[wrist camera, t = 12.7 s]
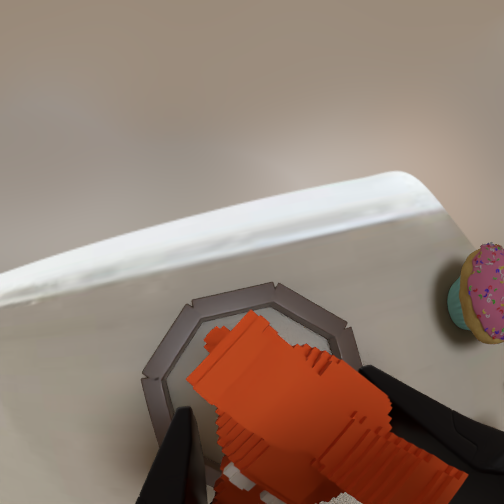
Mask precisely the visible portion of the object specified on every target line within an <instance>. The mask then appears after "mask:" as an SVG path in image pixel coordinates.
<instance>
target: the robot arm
mask: <svg viewBox="0 0 504 504" xmlns="http://www.w3.org/2000/svg"><path fill="white" fill-rule="evenodd" d="M358 373H360V374H361V375H362V376H363V377H365V378H366V379H367V380H368V381H370V382H371V383H372V384H373V385H375V386H376V387H377V388H378V389H380V390H381V391H382V392H384V393H385V394H386V395H387V396H388V397H387V398H388V399H390V401H389V402H391V403H392V404H391V405H390V406H391V407H392V409H391V411H390V412H389V413H388V416H390V417H391V418H392V419H391V420H390V422H389V424H390V425H391V427H392V429H391V430H390V431H389V432H392V433H394V434H395V435H396V436H398V437H400V438H403V439H404V440H406V441H407V442H409V443H412V444H414V445H415V446H417V447H418V448H420V449H423V450H425V451H426V452H428V453H430V454H433V455H435V456H436V457H438V458H439V459H440V460H442V461H443V462H445V463H446V464H448V465H450V466H453V467H455V468H456V469H458V470H460V471H463V472H465V473H467V474H468V477H467V478H466V480H465V481H464V483H463V484H462V485H461V487H460V488H459V490H458V491H457V492H456V494H455V495H454V496H453V498H452V499H451V500H450V502H449V503H448V504H504V432H503V431H501V430H498V429H495V428H492V427H490V426H487V425H484V424H482V423H479V422H477V421H474V420H472V419H470V418H468V417H466V416H464V415H462V414H460V413H458V412H456V411H454V410H452V409H450V408H448V407H446V406H445V405H443V404H441V403H439V402H437V401H435V400H433V399H432V398H430V397H428V396H426V395H424V394H422V393H421V392H419V391H417V390H415V389H413V388H412V387H410V386H408V385H406V384H404V383H403V382H401V381H399V380H397V379H395V378H394V377H392V376H390V375H388V374H387V373H385V372H383V371H381V370H380V369H378V368H376V367H374V366H372V365H366V366H363V367H360V368H359V369H358ZM139 495H140V497H138V499H137V501H136V503H135V504H208V503H207V490H206V474H205V464H204V459H203V453H202V448H201V443H200V437H199V431H198V426H197V422H196V419H195V416H194V413H193V411H192V408H191V407H190V406H184V407H178V408H177V410H176V412H175V414H174V416H173V418H172V421H171V423H170V425H169V428H168V430H167V432H166V434H165V437H164V439H163V441H162V444H161V446H160V448H159V450H158V453H157V455H156V457H155V460H154V462H153V464H152V467H151V469H150V471H149V473H148V476H147V478H146V480H145V483H144V485H143V487H142V490H141V492H140V494H139Z"/></svg>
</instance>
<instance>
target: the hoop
mask: <svg viewBox="0 0 504 504" xmlns="http://www.w3.org/2000/svg"><path fill="white" fill-rule="evenodd" d="M192 305H193V307H192V306H190V305H189V304H186V305H185V306H184V308H183V309H182V311H181V312H180V314H179V315H178V317H177V318H176V320H175V321H174V323H173V325H172V326H171V328H170V329H169V331H168V332H167V334H166V335H165V337H164V338H163V340H162V341H161V343H160V345H159V346H158V348H157V349H156V351H155V352H154V354H153V355H152V357H151V359H150V360H149V362H148V363H147V365H146V366H145V368H144V370H143V371H142V374H144V375H145V376H147V378H142V379H141V383H142V387H143V391H144V395H145V399H146V403H147V407H148V410H149V414H150V418H151V421H152V425H153V428H154V432H155V435H156V438H157V442H158V445H159V448H160V446H161V444H162V441H163V439H164V437H165V434H166V432H167V430H168V428H169V425H170V423H171V421H172V418H173V416H174V411H173V407H172V403H171V399H170V396H169V392H168V388H167V384H166V378H167V377H168V375H169V373H170V372H171V370H172V369H173V367H174V366H175V364H176V362H177V361H178V359H179V358H180V356H181V355H182V353H183V352H184V350H185V348H186V347H187V345H188V344H189V342H190V341H191V339H192V337H193V336H194V334H195V333H196V331H197V330H198V328H199V327H200V325H201V323H202V322H204V321H208V320H213V319H217V318H222V317H226V316H231V315H235V314H239V313H244V312H248V311H250V310H256V309H260V308H265V307H269V306H271V307H273V308H274V309H276V310H278V311H280V312H281V313H283V314H285V315H286V316H288V317H290V318H292V319H293V320H295V321H297V322H299V323H300V324H302V325H304V326H306V327H307V328H309V329H311V330H313V331H314V332H316V333H318V334H320V335H322V336H323V337H325V338H327V339H328V340H329V343H330V347H331V350H332V354H333V355H334V356H335V357H337V358H338V359H339V360H341V359H342V360H343V361H345V362H346V363H347V364H348V365H350V366H351V367H352V368H353V369H355V370H356V371H357V372H358V369H359V368H360V367H363V366H362V363H361V359H360V355H359V352H358V348H357V345H356V341H355V338H354V334H353V331H352V328H351V327H349V328H346V329H345V327H346V325H347V322H346V321H344V320H343V319H341V318H339V317H337V316H336V315H334V314H332V313H331V312H329V311H327V310H325V309H324V308H322V307H320V306H318V305H317V304H315V303H313V302H311V301H310V300H308V299H306V298H305V297H303V296H301V295H299V294H298V293H296V292H294V291H293V290H291V289H289V288H287V287H286V286H284V285H282V284H281V283H278V284H277V286H276V287H274V283H273V282H269V283H265V284H260V285H256V286H252V287H247V288H243V289H238V290H234V291H229V292H225V293H220V294H216V295H211V296H207V297H202V298H197V299H193V300H192ZM203 459H204V464H205V474H206V484H207V485H209V486H211V487H213V488H214V485H215V481H216V480H217V479H218V478H219V477H220V476H221V474H222V470H221V469H220V466H221V465H220V464H218V463H216V462H214V461H212V460H210V459H208V458H206V457H204V456H203Z"/></svg>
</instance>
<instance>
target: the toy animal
mask: <svg viewBox="0 0 504 504" xmlns="http://www.w3.org/2000/svg"><path fill="white" fill-rule="evenodd" d="M269 324H270V323H269V322H268V321H267V320H266V319H265V318H263V317H262V316H261V315H260V316H258V315H257V314H256V313H254V312H253V311H252V310H250V311H249V312H248V313H247V314H246V315H245V316H244V317H243V318H242V320H241V321H240V322H239V323H238V324H237V325H236V326H235V327H234V328H233V329H232V330H231V331H230V330H229V329H227V328H226V327H225V326H223V327H222V328H221V329H220V328H218V327H217V326H216V327H215V328H214V329H212V330H211V331H210V332H209V333H208V334H207V335H206V336H207V337H206V338H205V339H204V341H205V342H206V343H207V344H206V345H205V346H204V348H205V349H206V350H207V351H208V352H209V353H210V354H209V355H208V356H207V357H206V358H205V359H204V360H203V362H202V363H201V364H200V365H199V366H198V367H197V368H196V369H195V370H194V371H193V372H192V373H191V374H190V375H189V376H188V377H187V378H186V380H187V381H188V382H189V383H190V384H191V385H192V386H193V389H194V390H195V391H196V392H197V393H198V394H200V395H201V396H202V397H203V398H204V399H205V400H206V401H207V402H209V403H210V404H211V405H213V404H214V405H215V406H216V407H217V410H216V411H215V412H216V413H217V414H218V415H219V417H218V419H217V420H216V422H215V423H216V424H217V425H218V426H219V427H218V429H217V432H216V434H218V435H219V438H218V441H217V444H219V445H220V446H221V447H222V452H223V453H224V454H226V455H225V456H224V457H223V458H222V462H221V466H220V469H221V470H222V474H221V476H220V477H219V478H218V479H217V480H216V481H215V485H214V489H213V490H214V491H216V492H215V496H214V499H213V501H212V502H211V503H210V504H315V503H317V504H319V503H320V502H321V501H324V502H325V501H326V502H329V501H330V500H331V499H332V498H333V497H335V498H336V497H337V496H338V495H339V494H340V493H344V492H345V491H346V492H347V493H348V494H349V495H351V496H353V497H354V498H355V499H356V500H357V501H359V502H361V503H363V504H448V503H449V502H450V500H451V499H452V498H453V496H454V495H455V494H456V492H457V491H458V490H459V488H460V487H461V485H462V484H463V483H464V481H465V480H466V478H467V477H468V474H467V473H465V472H463V471H460V470H458V469H456V468H455V467H453V466H450V465H448V464H446V463H445V462H443V461H442V460H440V459H439V458H438V457H436V456H435V455H433V454H430V453H428V452H426V451H425V450H423V449H420V448H418V447H417V446H415V445H414V444H412V443H409V442H407V441H406V440H404V439H403V438H400V437H398V436H396V435H395V434H394V433H392V432H389V431H390V430H391V429H392V427H391V425H390V424H389V422H390V420H391V419H392V418H391V417H390V416H388V413H389V412H390V411H391V409H392V407H391V406H390V405H391V404H392V403H391V402H389V401H390V399H388V398H387V397H388V396H387V395H386V394H385V393H384V392H382V391H381V390H380V389H378V388H377V387H376V386H375V385H373V384H372V383H371V382H370V381H368V380H367V379H366V378H365V377H363V376H362V375H361V374H360V373H358V372H357V371H356V370H355V369H353V368H352V367H351V366H350V365H348V364H347V363H346V362H345V361H343V360H342V359H341V360H339V359H338V358H337V357H335V356H334V355H330V354H329V353H328V352H326V351H320V350H319V349H317V348H316V347H313V348H311V347H310V346H309V345H308V344H307V343H306V344H304V345H302V346H300V345H298V344H296V345H294V346H291V345H289V344H288V343H287V342H286V341H285V340H283V339H282V338H281V337H280V336H279V335H277V333H278V332H277V331H276V330H274V329H273V328H272V327H271V326H270V325H269Z"/></svg>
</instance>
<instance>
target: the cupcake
mask: <svg viewBox="0 0 504 504" xmlns="http://www.w3.org/2000/svg"><path fill="white" fill-rule="evenodd" d="M490 243H491V244H490ZM490 243H488V244H483V245H481V246H480V247H481V248H480V249H478V250H476V251H474V252H473V253H471V254H470V255H469V256H468V257H467V259H466V261H465V263H464V264H463V266H462V269H461V275H460V277H459V278H458V279H457V280H456V281H455V282H454V284H453V285H452V286H451V288H450V290H449V293H448V299H447V304H448V311H449V314H450V317H451V319H452V320H453V322H454V323H455V324H456V325H457V326H458V327H459V328H461V329H465V330H471V331H472V333H473V334H474V336H475V337H476V338H477V339H478V340H479V341H481V342H483V343H486V344H498V343H501V342H504V249H503V248H502V246H500V245H497V244H495V245H494V244H492V242H490Z"/></svg>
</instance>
